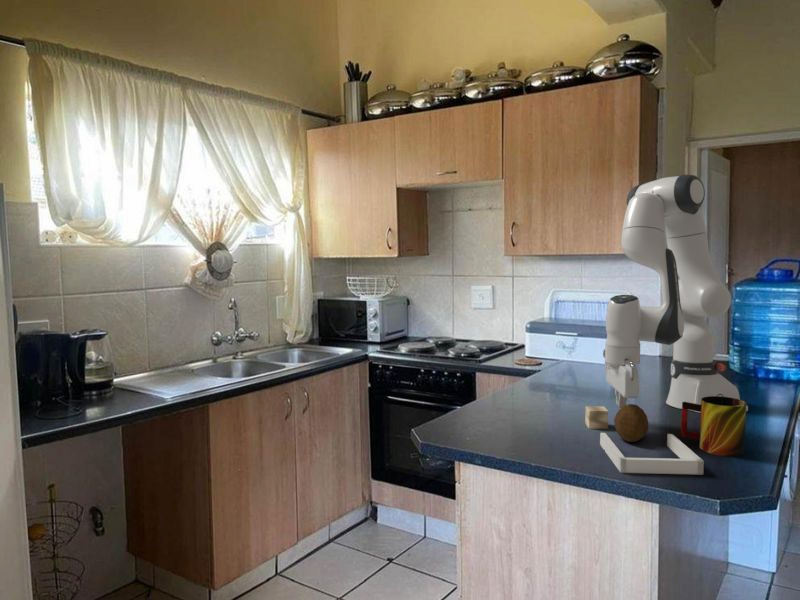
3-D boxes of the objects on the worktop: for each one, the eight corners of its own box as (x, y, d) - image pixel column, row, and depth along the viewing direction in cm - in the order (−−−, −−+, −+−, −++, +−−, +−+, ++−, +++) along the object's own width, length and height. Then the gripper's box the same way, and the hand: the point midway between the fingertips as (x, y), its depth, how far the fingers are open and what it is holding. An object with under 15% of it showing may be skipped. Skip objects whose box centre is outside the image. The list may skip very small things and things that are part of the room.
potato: (605, 441, 156) (605, 407, 155) (620, 430, 165) (621, 398, 164) (639, 447, 151) (639, 413, 150) (653, 435, 160) (654, 403, 159)
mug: (680, 439, 157) (682, 393, 156) (742, 446, 151) (744, 398, 150) (681, 450, 148) (682, 402, 147) (746, 458, 142) (748, 407, 141)
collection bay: (672, 445, 152) (672, 434, 151) (703, 474, 133) (703, 461, 132) (600, 444, 153) (600, 432, 153) (620, 472, 134) (620, 459, 134)
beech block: (603, 424, 171) (603, 406, 171) (607, 429, 166) (608, 411, 166) (585, 423, 172) (585, 406, 171) (589, 428, 167) (589, 410, 166)
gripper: (646, 363, 153) (644, 417, 155) (624, 349, 174) (623, 397, 175) (620, 363, 154) (619, 417, 155) (601, 349, 174) (600, 397, 176)
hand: (621, 406), depth 165 cm, fingers closed
